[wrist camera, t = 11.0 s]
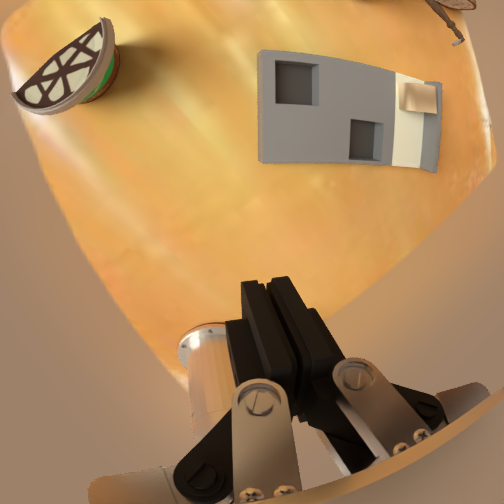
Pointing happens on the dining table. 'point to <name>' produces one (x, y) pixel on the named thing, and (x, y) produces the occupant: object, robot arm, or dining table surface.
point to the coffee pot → (446, 20)
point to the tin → (458, 4)
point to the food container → (73, 73)
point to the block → (417, 97)
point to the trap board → (340, 114)
